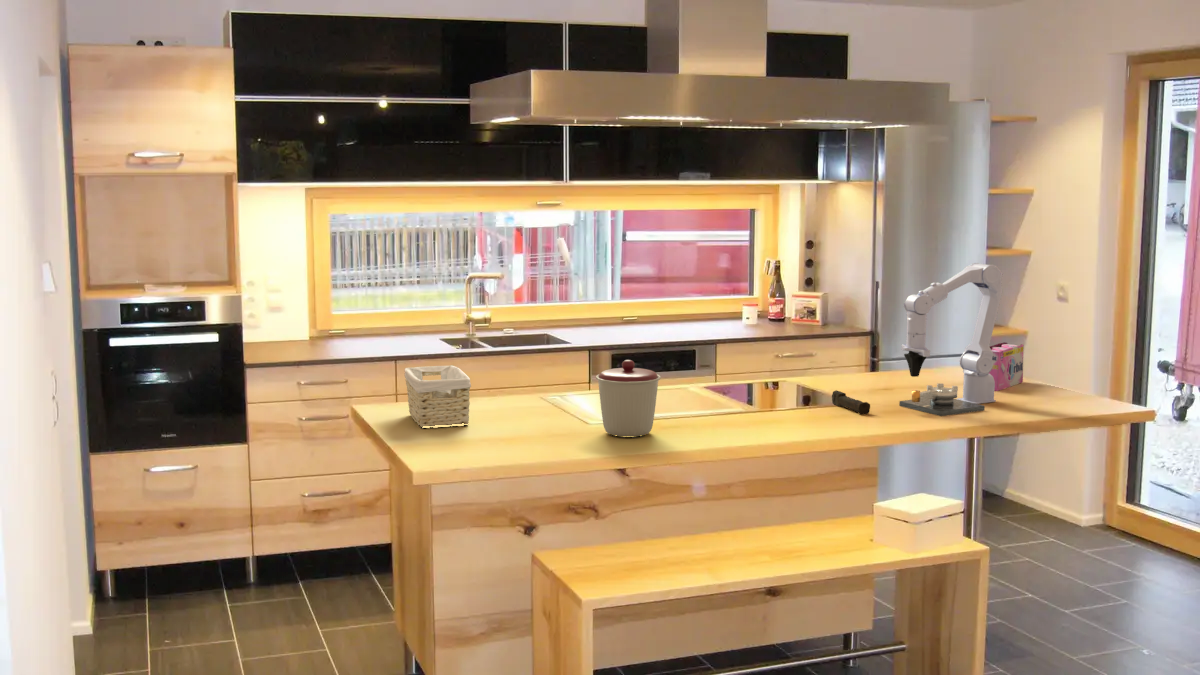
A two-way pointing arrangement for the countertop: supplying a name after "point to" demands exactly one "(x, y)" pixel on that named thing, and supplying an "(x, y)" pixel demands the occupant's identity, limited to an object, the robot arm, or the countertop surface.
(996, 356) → the gum box
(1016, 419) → the countertop surface
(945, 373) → the countertop surface
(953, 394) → the grey mechanical part
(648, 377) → the canister
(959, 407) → the plate
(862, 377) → the countertop surface
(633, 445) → the countertop surface
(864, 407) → the hand tool
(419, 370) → the storage basket
